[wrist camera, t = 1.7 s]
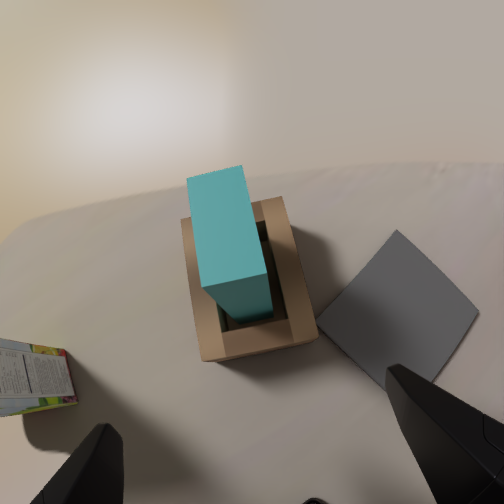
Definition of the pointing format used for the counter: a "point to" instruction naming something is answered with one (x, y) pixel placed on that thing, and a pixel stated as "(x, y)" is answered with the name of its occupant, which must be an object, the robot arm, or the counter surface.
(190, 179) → the teal block
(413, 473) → the counter surface
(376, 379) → the rubber mat
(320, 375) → the counter surface
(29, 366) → the snack box
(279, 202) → the slot box
